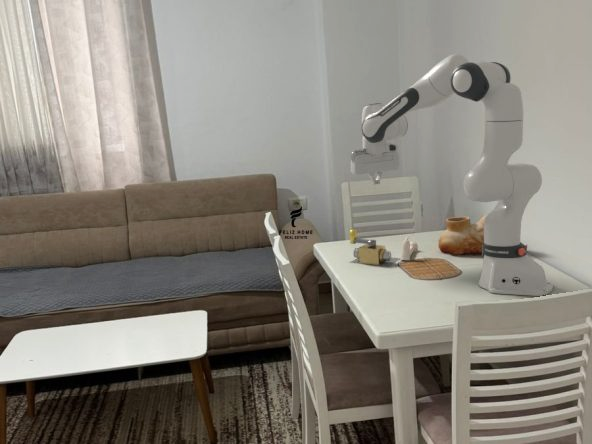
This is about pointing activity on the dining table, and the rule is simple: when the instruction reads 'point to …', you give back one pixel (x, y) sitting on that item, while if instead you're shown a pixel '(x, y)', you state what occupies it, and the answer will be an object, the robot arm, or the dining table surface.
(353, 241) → the valve lever
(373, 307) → the dining table surface
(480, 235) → the ceramic vessel
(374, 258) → the valve body
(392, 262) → the valve base plate
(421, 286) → the dining table surface
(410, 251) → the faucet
